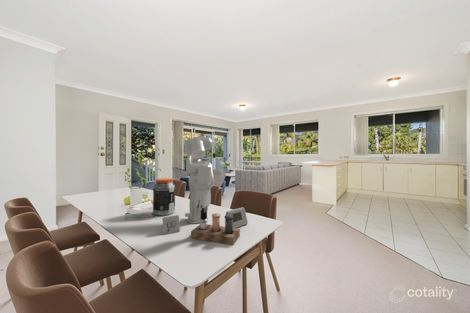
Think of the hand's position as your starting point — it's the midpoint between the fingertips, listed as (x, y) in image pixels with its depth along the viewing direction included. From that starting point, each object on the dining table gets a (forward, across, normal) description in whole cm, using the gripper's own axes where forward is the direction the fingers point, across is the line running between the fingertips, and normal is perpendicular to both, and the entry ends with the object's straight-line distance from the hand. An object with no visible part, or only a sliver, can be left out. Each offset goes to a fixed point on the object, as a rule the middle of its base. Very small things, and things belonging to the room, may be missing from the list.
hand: (203, 218), depth 109 cm
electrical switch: (+10, +2, -20) cm, 23 cm away
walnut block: (+9, 0, +8) cm, 12 cm away
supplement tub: (+10, -26, -46) cm, 54 cm away
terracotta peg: (+6, 0, +7) cm, 9 cm away
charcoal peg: (+6, 0, +15) cm, 16 cm away
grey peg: (+9, 0, 0) cm, 9 cm away
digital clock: (+10, -20, +14) cm, 26 cm away
